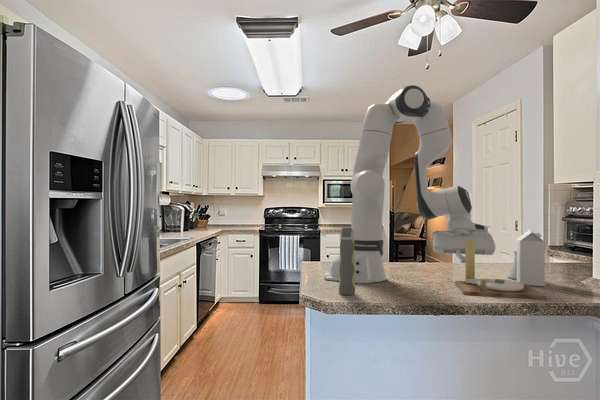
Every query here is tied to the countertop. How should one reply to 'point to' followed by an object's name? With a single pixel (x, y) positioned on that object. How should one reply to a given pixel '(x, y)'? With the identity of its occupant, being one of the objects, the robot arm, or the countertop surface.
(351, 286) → the grey upright post
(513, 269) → the flask
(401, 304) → the countertop surface
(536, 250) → the milk carton
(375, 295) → the countertop surface
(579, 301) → the countertop surface
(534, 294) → the base board
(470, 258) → the white and beige stand
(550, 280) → the countertop surface
